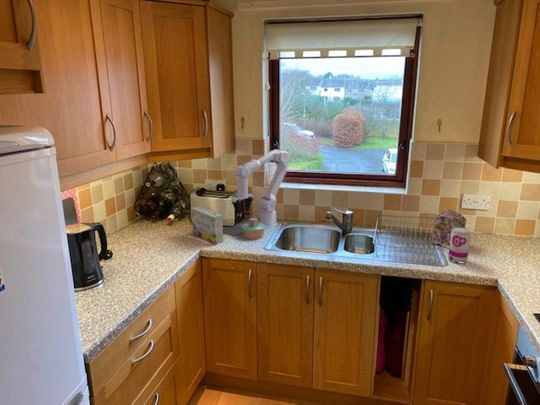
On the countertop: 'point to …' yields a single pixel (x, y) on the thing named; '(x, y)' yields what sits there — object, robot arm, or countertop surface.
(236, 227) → the mat
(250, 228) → the lid
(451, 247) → the supplement can
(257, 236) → the bucket
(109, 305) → the countertop surface
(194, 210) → the snack box
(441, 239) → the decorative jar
